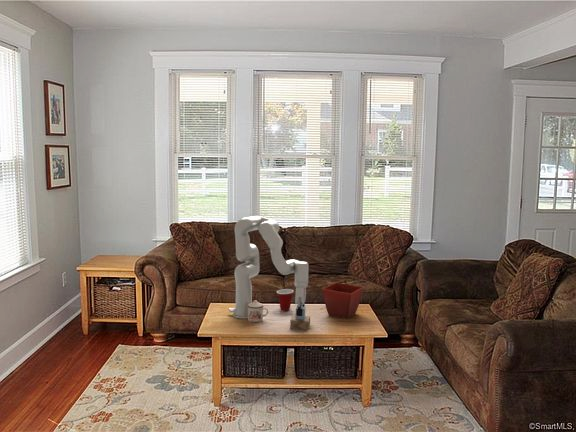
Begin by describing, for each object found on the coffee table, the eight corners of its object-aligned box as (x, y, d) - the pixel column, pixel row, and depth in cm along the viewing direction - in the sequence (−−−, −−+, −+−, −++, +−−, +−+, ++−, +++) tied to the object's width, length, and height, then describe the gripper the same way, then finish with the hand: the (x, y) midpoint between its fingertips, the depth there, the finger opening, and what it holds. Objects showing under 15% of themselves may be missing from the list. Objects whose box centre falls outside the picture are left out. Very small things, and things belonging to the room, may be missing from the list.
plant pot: (349, 321, 316) (350, 293, 314) (320, 315, 326) (321, 288, 324) (362, 313, 332) (363, 287, 330) (335, 308, 342) (335, 282, 340)
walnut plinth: (290, 328, 300) (290, 320, 299) (292, 323, 310) (292, 314, 309) (307, 330, 298) (308, 321, 298) (309, 324, 308) (310, 316, 308)
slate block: (295, 319, 301) (295, 308, 301) (296, 316, 306) (296, 306, 306) (304, 319, 301) (304, 309, 300) (305, 317, 306) (305, 306, 305)
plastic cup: (275, 307, 342) (275, 288, 341) (292, 306, 343) (292, 288, 342) (276, 311, 331) (277, 292, 330) (294, 311, 333) (294, 292, 331)
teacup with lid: (247, 322, 310) (247, 302, 309) (248, 317, 319) (248, 298, 318) (267, 322, 310) (268, 302, 309) (268, 317, 319) (268, 298, 318)
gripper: (296, 279, 310) (296, 308, 312) (292, 286, 293) (291, 317, 295) (309, 280, 309) (308, 309, 311) (306, 287, 292) (305, 318, 294)
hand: (300, 313), depth 303 cm, fingers open, 9 cm apart
